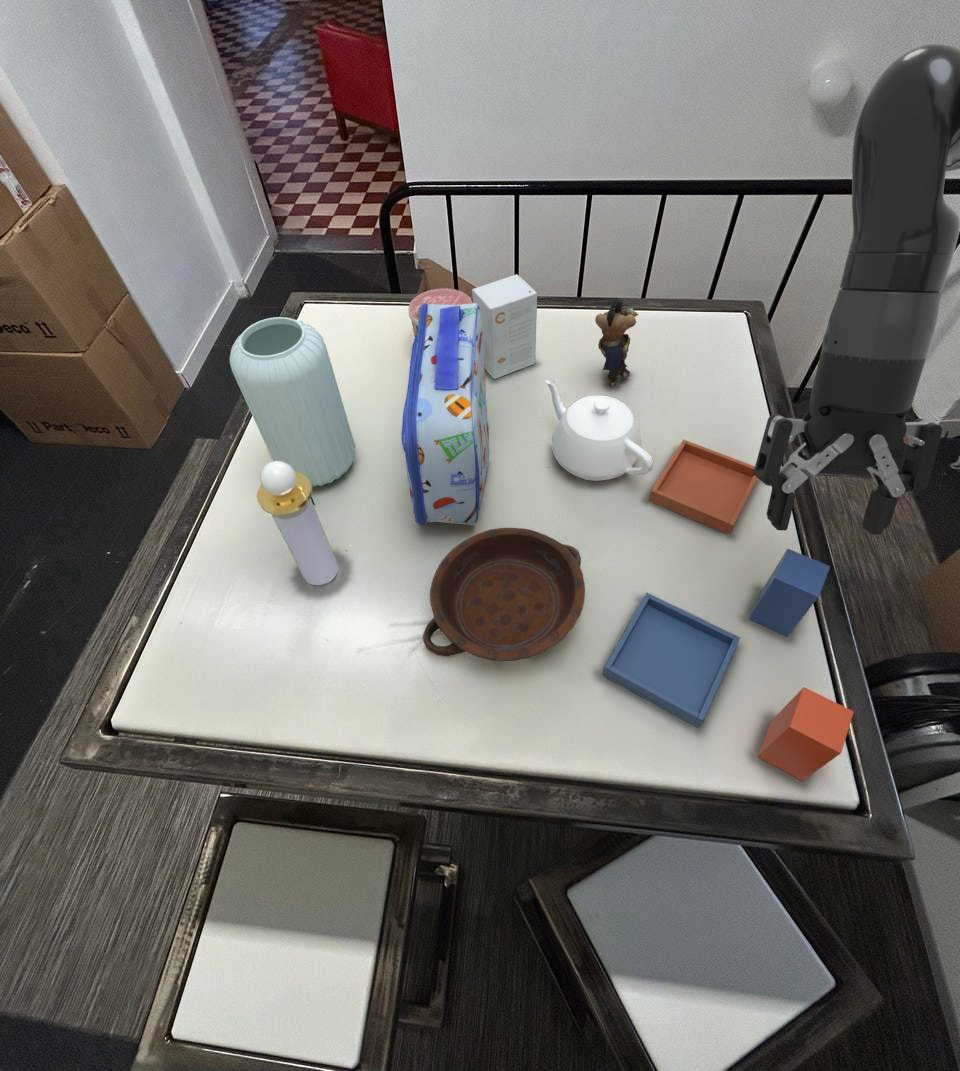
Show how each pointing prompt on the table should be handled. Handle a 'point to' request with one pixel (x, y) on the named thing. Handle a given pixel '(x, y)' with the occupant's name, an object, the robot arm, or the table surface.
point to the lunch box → (446, 415)
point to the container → (436, 301)
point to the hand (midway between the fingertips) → (824, 529)
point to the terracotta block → (806, 734)
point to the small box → (507, 324)
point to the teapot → (597, 438)
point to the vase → (294, 397)
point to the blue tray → (672, 658)
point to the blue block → (789, 592)
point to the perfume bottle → (297, 520)
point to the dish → (505, 595)
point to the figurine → (615, 339)
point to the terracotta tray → (704, 486)
